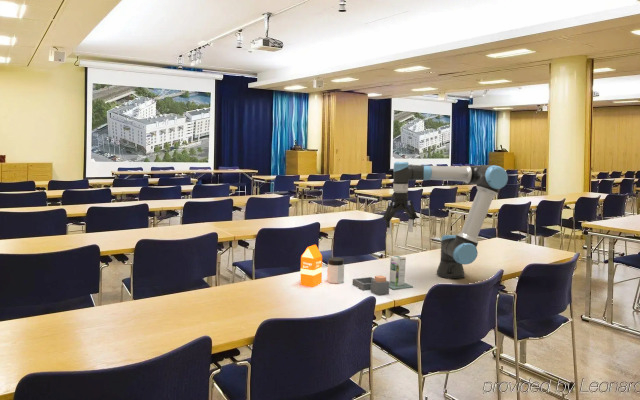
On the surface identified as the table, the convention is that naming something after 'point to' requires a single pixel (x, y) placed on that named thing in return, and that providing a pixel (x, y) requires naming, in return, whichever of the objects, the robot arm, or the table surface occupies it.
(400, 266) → the syrup box
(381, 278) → the peach square block
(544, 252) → the table surface
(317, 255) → the orange juice
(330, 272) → the jar
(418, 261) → the table surface
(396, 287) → the rubber mat
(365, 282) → the frame
